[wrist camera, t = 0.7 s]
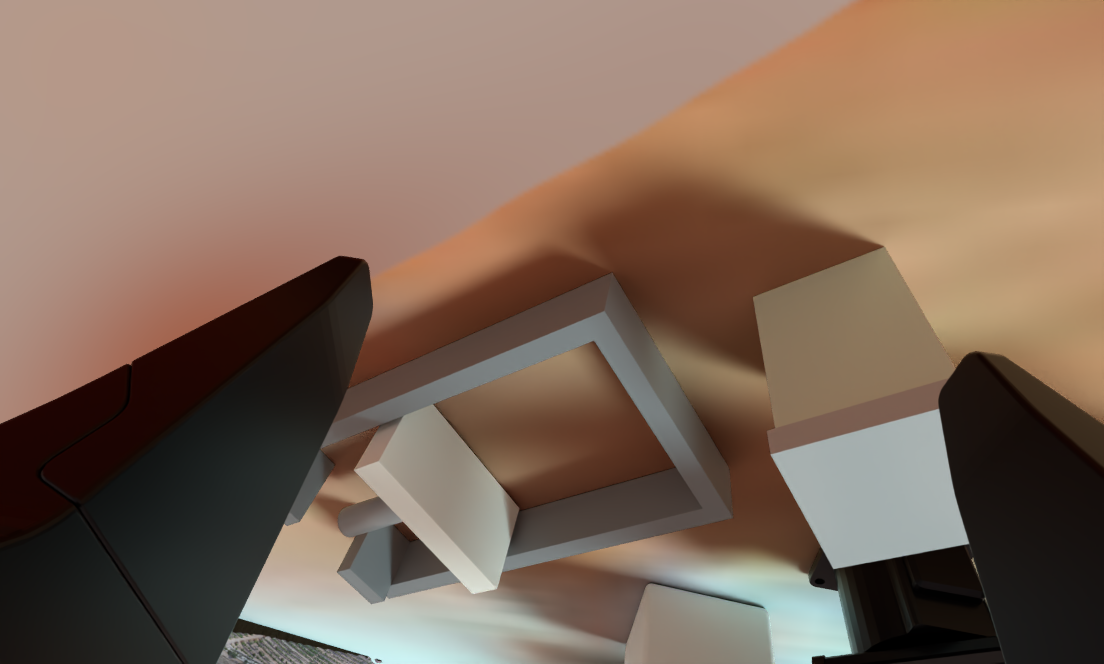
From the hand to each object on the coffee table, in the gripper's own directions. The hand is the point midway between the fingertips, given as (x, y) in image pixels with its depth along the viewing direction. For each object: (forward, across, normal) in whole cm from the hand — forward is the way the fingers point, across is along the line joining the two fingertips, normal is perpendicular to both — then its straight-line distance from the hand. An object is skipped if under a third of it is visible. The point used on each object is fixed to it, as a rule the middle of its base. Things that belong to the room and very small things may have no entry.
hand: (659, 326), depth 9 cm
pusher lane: (+13, +4, +20) cm, 24 cm away
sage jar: (+13, -9, +9) cm, 19 cm away
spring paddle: (+13, +8, +23) cm, 27 cm away
